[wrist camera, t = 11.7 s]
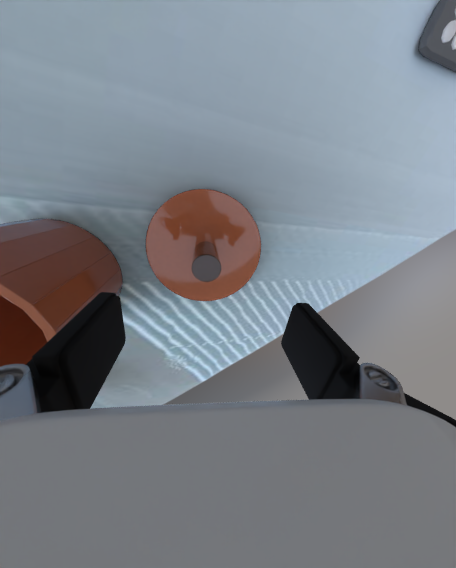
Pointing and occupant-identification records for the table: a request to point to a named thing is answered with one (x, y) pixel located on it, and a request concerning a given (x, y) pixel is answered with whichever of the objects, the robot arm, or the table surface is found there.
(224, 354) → the table surface
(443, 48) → the key chain
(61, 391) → the robot arm
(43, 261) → the canister
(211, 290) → the lid
